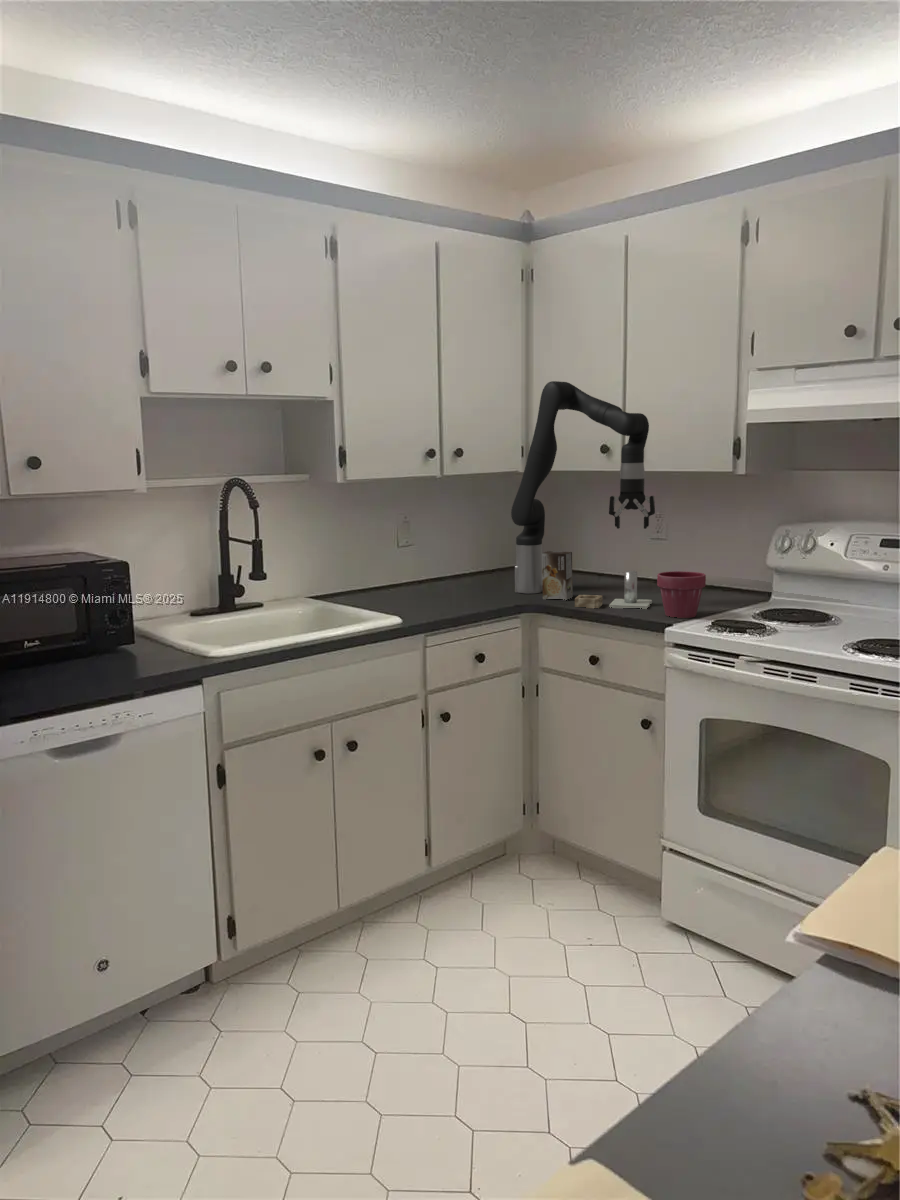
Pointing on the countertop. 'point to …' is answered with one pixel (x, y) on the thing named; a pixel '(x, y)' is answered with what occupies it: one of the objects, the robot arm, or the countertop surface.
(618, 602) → the sage mat
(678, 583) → the plant pot
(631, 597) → the metal peg
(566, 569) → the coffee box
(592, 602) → the wood collar
